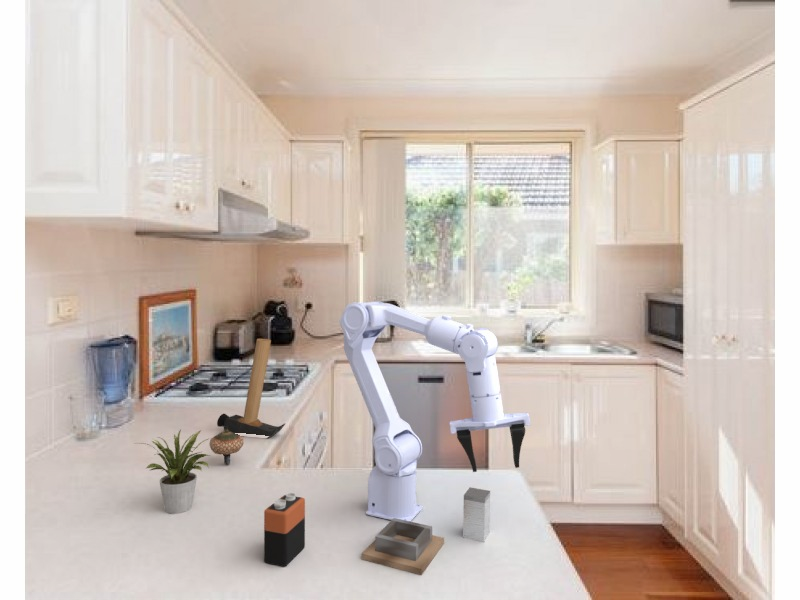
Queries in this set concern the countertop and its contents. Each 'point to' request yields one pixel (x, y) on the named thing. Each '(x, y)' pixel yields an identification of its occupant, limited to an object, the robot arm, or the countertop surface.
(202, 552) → the countertop surface
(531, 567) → the countertop surface
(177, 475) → the house plant
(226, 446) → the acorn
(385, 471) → the robot arm
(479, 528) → the peg
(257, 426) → the hammer
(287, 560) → the battery
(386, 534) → the socket block
